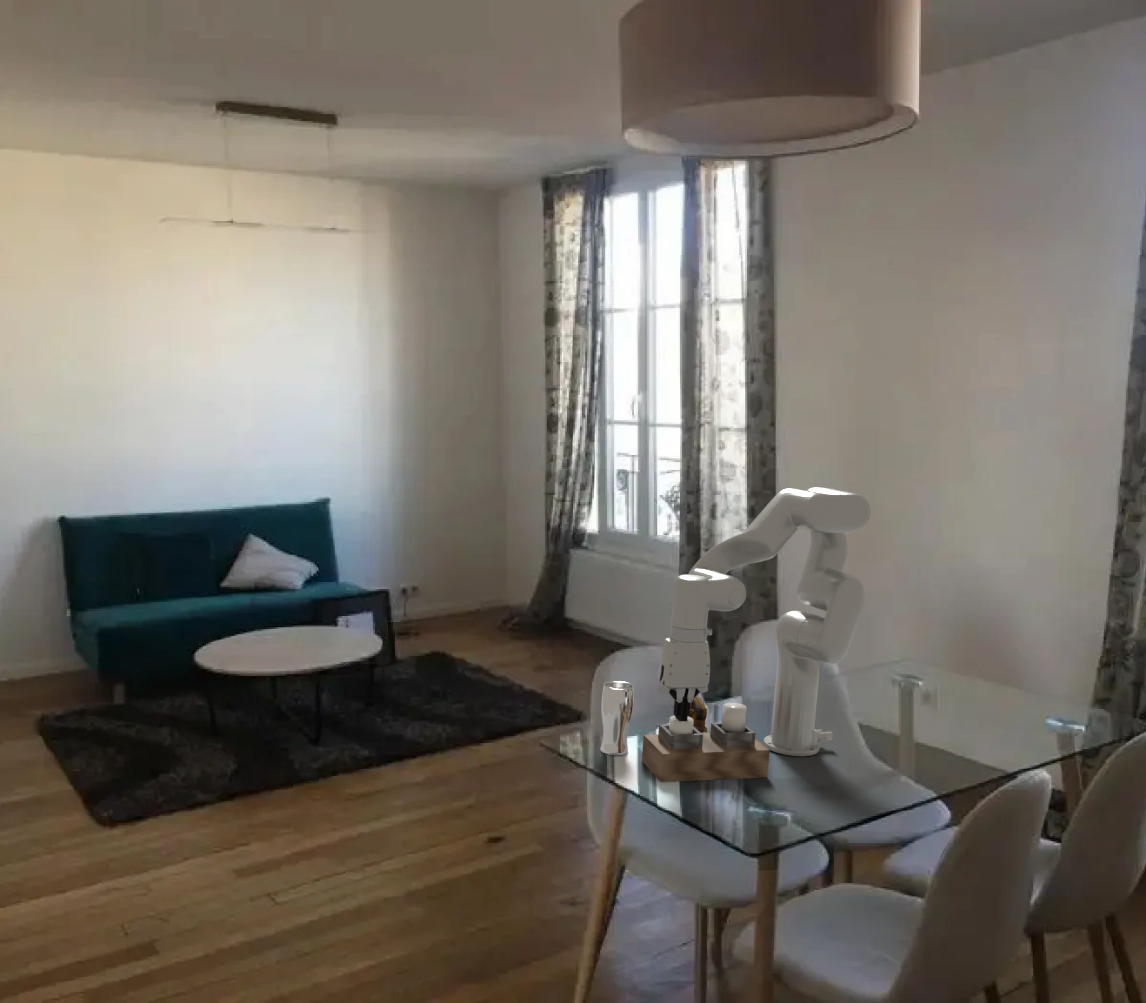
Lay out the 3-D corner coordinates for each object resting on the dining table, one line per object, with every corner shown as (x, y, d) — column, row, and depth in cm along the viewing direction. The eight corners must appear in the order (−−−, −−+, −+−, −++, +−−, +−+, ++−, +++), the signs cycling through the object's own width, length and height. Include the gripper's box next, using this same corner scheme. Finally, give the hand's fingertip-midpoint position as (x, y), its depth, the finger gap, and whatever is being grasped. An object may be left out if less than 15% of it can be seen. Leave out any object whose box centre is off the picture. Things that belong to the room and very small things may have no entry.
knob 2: (739, 724, 257) (740, 702, 256) (748, 732, 252) (750, 709, 252) (717, 725, 256) (719, 703, 255) (727, 733, 251) (728, 710, 250)
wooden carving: (665, 728, 280) (668, 687, 278) (683, 727, 281) (686, 686, 280) (693, 752, 264) (697, 708, 263) (712, 751, 265) (716, 708, 264)
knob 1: (686, 737, 254) (688, 715, 253) (695, 745, 249) (697, 722, 248) (664, 738, 252) (666, 715, 252) (673, 746, 248) (674, 723, 247)
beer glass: (627, 758, 257) (631, 691, 255) (595, 754, 258) (600, 687, 256) (632, 748, 264) (636, 683, 262) (601, 744, 265) (605, 679, 263)
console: (743, 757, 262) (747, 718, 261) (767, 777, 251) (770, 736, 250) (641, 761, 256) (644, 721, 254) (660, 782, 244) (664, 740, 243)
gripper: (714, 629, 253) (706, 713, 256) (648, 629, 249) (641, 714, 251) (728, 638, 246) (720, 724, 249) (660, 638, 242) (653, 725, 244)
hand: (680, 719), depth 250 cm, fingers closed
